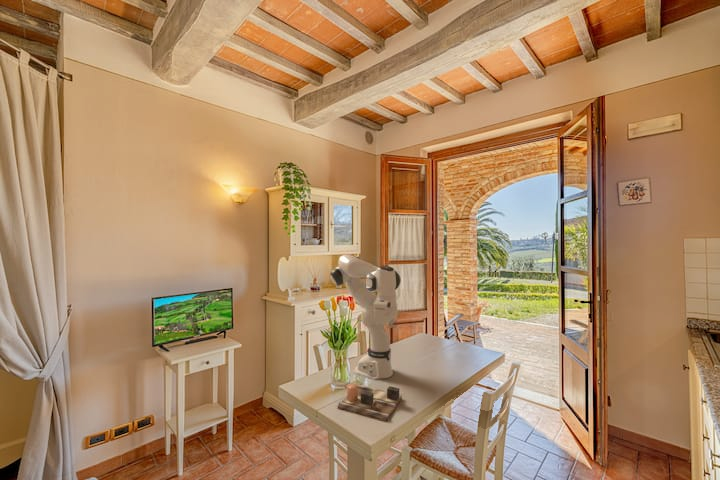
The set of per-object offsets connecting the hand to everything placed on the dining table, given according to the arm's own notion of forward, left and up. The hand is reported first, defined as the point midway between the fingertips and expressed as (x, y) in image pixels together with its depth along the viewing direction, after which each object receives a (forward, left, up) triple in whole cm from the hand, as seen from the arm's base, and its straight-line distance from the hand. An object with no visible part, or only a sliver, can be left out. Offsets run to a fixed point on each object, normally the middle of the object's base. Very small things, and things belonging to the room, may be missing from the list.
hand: (386, 330), depth 145 cm
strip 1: (-11, -8, -33) cm, 36 cm away
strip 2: (-2, +1, -33) cm, 33 cm away
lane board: (-7, -4, -34) cm, 35 cm away
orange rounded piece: (-14, -8, -32) cm, 36 cm away
